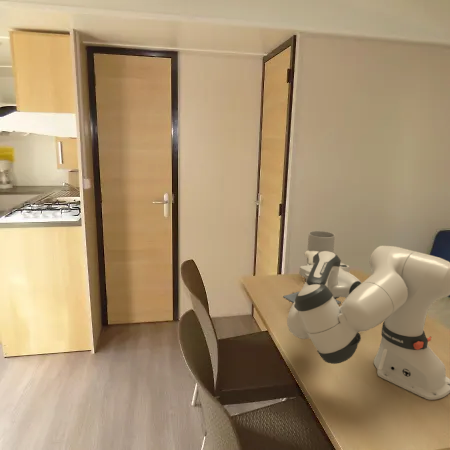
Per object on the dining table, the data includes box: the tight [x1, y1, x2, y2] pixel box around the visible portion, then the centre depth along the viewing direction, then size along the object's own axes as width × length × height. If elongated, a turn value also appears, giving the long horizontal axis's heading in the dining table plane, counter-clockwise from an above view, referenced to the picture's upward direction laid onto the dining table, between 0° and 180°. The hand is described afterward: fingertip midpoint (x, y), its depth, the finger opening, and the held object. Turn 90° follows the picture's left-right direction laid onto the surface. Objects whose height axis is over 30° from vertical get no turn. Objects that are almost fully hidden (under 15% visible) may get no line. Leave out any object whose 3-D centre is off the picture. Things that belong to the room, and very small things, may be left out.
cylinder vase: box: [304, 230, 336, 281], centre depth 184 cm, size 12×12×25 cm
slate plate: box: [283, 290, 342, 305], centre depth 165 cm, size 18×18×1 cm
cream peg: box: [303, 250, 318, 265], centre depth 163 cm, size 8×5×14 cm, turn 19°
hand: (313, 264), depth 162 cm, fingers closed on cream peg, 5 cm apart
